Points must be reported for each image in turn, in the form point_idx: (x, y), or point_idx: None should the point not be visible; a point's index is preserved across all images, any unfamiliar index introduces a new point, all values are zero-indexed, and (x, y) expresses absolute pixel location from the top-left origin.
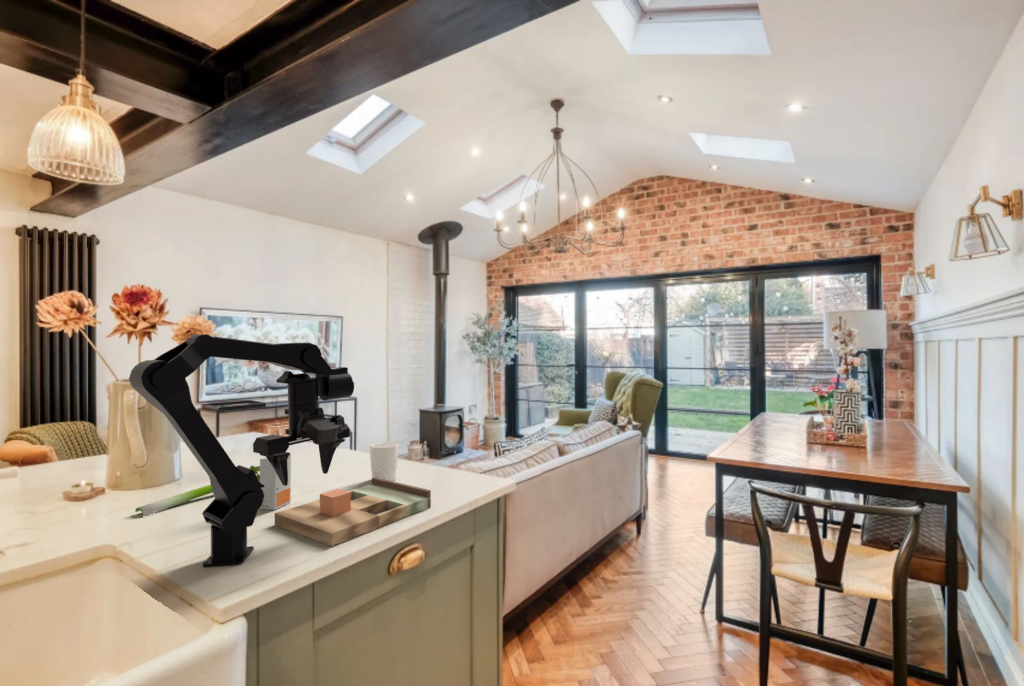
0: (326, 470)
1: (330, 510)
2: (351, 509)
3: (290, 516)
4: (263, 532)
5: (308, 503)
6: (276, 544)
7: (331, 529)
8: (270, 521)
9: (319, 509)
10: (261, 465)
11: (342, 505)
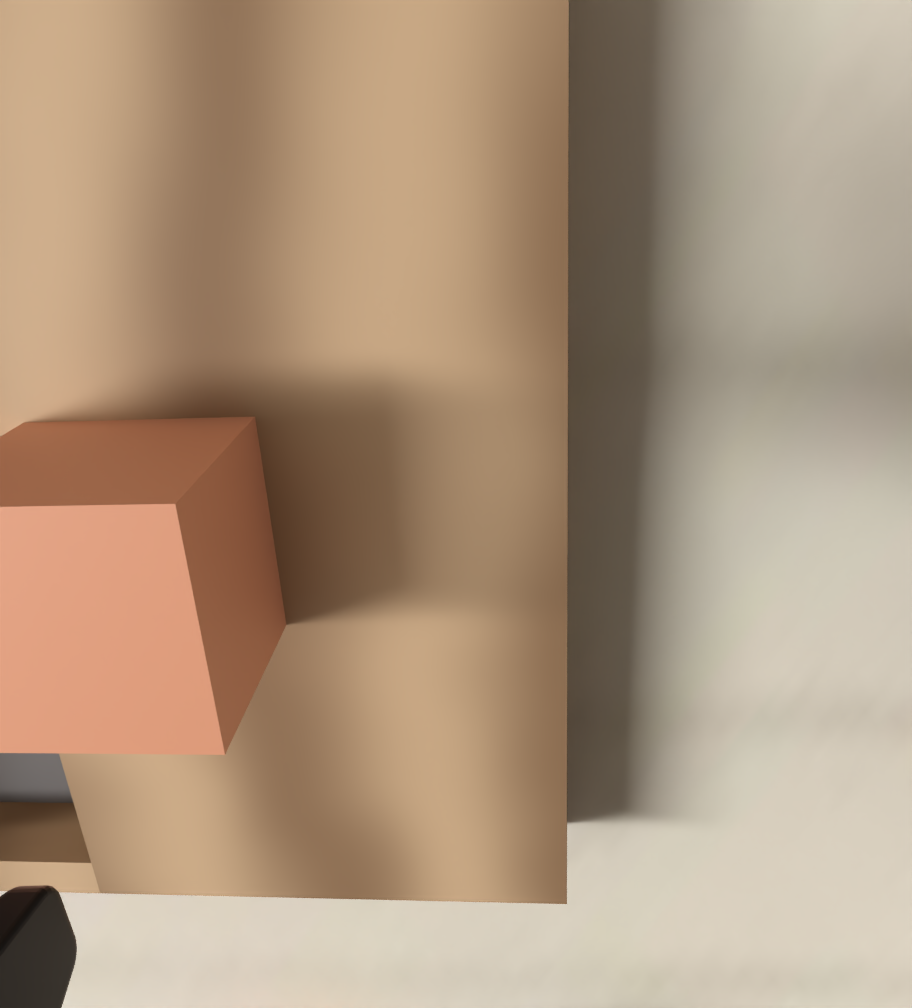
0: (8, 931)
1: (243, 478)
2: None
3: (530, 742)
4: (704, 763)
5: (241, 888)
6: (817, 462)
7: (487, 39)
8: None
9: None
10: None
11: (89, 449)
